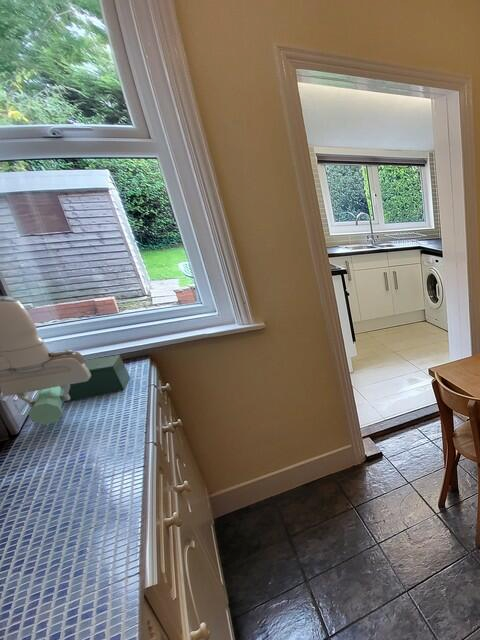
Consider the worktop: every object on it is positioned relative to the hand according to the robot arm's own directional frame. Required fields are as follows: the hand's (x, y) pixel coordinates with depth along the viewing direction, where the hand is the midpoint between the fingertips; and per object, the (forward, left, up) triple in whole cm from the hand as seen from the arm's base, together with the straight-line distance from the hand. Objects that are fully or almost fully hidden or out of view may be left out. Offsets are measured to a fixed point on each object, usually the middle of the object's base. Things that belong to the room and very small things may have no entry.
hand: (51, 403), depth 115 cm
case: (+5, +24, -6) cm, 25 cm away
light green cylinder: (0, 0, -2) cm, 2 cm away
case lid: (+4, +24, +2) cm, 24 cm away
